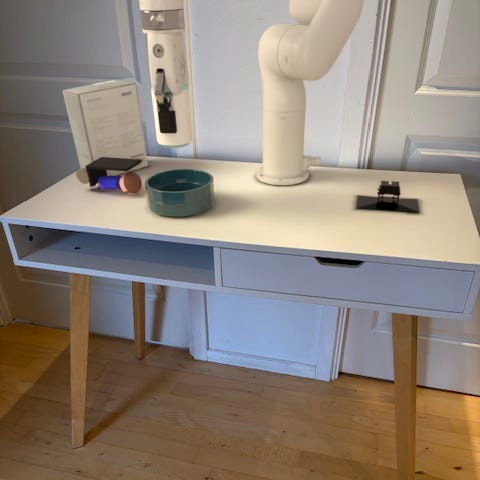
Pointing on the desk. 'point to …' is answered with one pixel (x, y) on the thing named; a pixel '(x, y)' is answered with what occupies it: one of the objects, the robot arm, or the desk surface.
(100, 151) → the hard drive box
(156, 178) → the bowl
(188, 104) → the can
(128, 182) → the figurine character
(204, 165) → the desk surface
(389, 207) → the build plate
